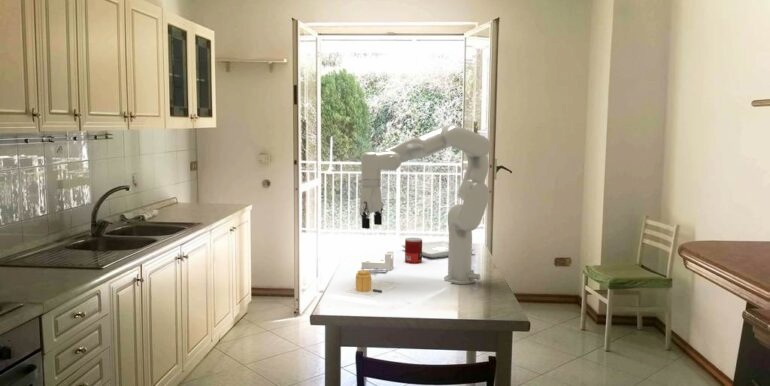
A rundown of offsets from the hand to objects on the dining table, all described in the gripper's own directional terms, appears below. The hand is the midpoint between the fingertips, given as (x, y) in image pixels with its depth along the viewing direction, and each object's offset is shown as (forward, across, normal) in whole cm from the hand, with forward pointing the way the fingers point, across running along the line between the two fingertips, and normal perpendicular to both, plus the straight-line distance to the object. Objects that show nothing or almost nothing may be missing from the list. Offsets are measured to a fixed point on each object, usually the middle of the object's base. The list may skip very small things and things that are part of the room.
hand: (372, 226), depth 243 cm
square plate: (+25, -73, -4) cm, 77 cm away
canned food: (+25, -47, -5) cm, 53 cm away
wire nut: (+22, +13, +3) cm, 26 cm away
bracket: (+24, -27, -13) cm, 39 cm away
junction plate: (+24, +9, +5) cm, 26 cm away
